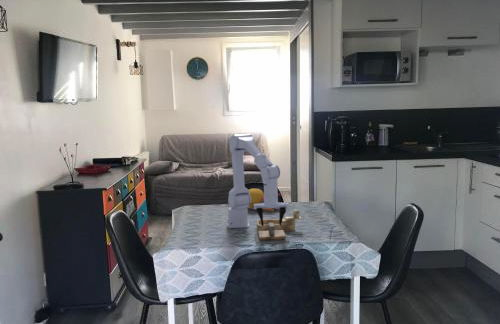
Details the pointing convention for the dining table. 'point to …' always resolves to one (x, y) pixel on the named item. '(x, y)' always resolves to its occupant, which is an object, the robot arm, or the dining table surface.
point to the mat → (260, 241)
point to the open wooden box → (276, 225)
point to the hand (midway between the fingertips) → (271, 225)
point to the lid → (271, 234)
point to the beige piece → (294, 215)
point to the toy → (258, 198)
